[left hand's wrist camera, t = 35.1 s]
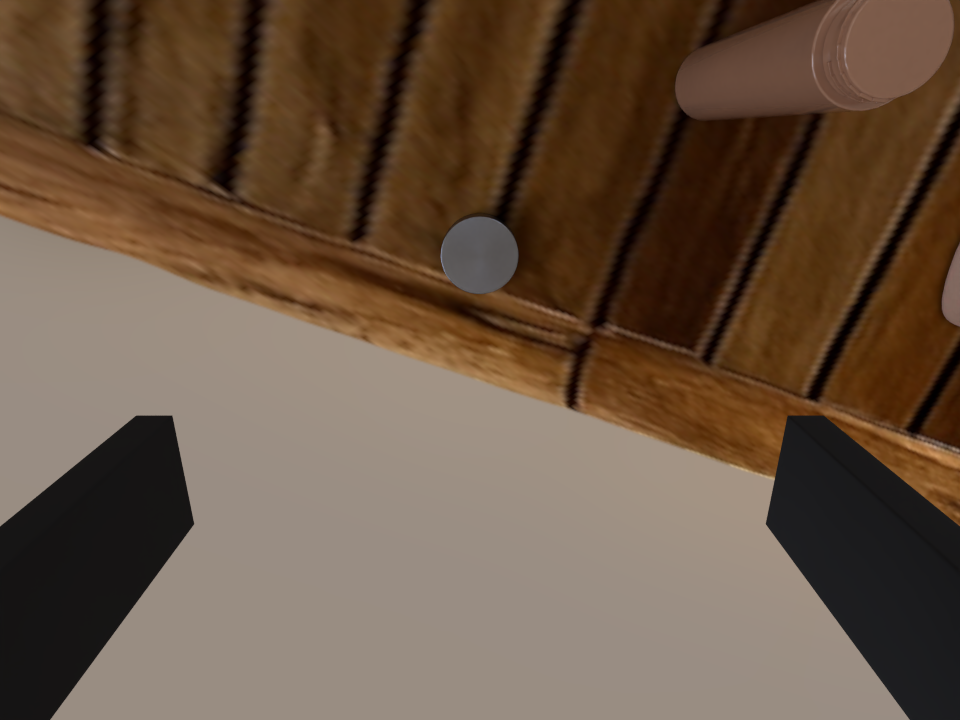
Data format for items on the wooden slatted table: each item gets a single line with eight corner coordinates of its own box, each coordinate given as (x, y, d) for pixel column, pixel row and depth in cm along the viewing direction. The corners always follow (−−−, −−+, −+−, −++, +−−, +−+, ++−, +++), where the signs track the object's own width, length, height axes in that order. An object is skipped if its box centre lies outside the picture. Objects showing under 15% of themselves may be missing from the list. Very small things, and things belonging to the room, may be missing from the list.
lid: (430, 231, 39) (428, 235, 37) (500, 201, 38) (501, 203, 37) (460, 298, 41) (459, 305, 39) (528, 271, 40) (529, 276, 38)
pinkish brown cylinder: (682, 41, 35) (856, -41, 19) (752, 47, 35) (985, -29, 19) (668, 118, 37) (819, 104, 20) (736, 123, 37) (939, 114, 20)
